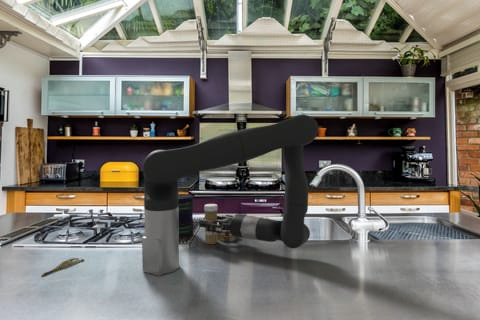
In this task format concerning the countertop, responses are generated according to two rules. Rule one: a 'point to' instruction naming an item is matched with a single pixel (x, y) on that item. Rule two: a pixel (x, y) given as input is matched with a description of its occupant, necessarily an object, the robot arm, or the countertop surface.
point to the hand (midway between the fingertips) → (206, 220)
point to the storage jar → (185, 215)
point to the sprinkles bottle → (210, 216)
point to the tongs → (63, 266)
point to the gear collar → (225, 238)
